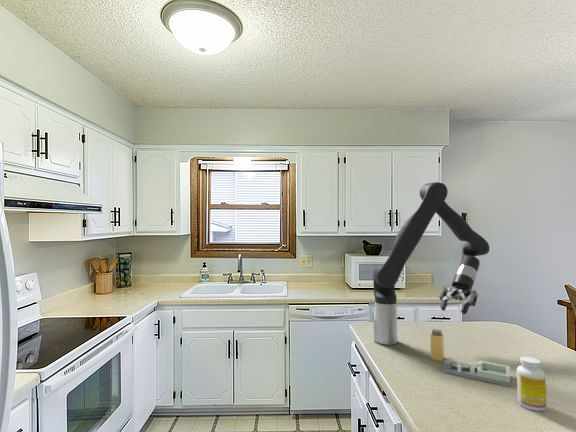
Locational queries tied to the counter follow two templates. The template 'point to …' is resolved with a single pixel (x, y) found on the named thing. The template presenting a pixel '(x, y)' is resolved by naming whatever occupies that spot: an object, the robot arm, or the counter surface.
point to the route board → (480, 371)
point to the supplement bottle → (531, 384)
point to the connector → (437, 345)
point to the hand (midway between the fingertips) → (452, 311)
